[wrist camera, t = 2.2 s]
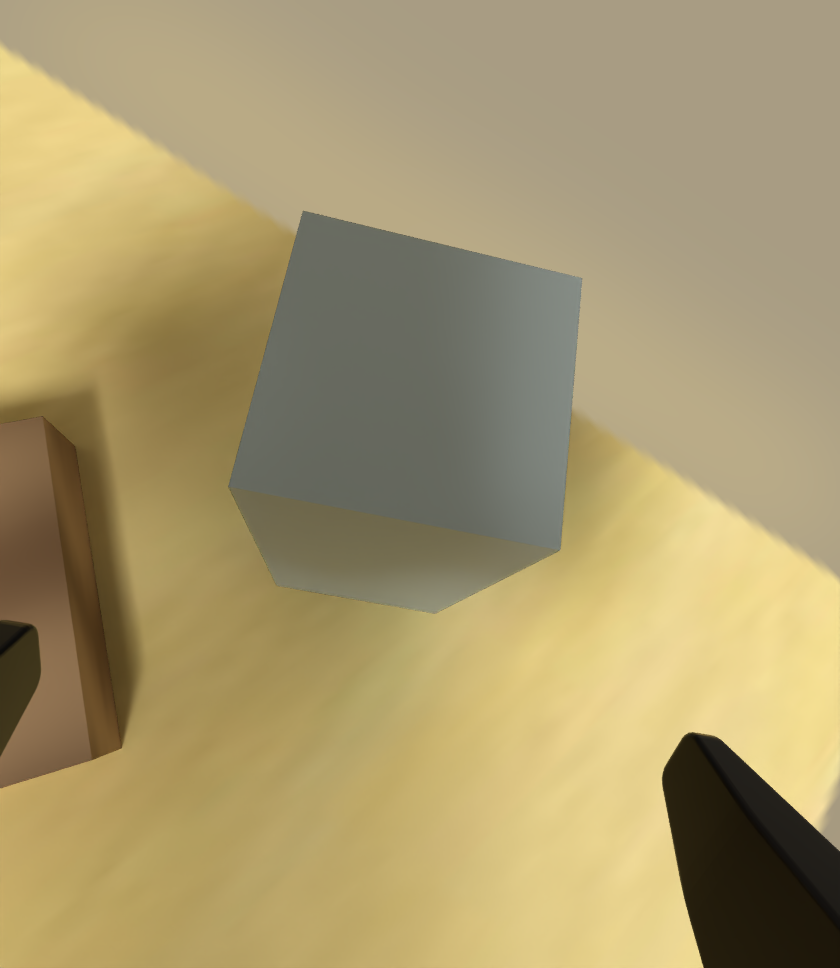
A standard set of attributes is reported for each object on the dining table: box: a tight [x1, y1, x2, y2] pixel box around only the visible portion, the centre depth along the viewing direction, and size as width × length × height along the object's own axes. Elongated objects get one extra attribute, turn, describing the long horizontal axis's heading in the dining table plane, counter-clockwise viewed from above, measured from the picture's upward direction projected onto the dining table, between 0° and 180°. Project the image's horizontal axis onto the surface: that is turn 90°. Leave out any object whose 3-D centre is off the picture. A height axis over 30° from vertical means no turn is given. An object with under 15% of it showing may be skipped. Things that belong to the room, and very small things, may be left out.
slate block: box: [228, 211, 582, 614], centre depth 16 cm, size 6×6×12 cm
